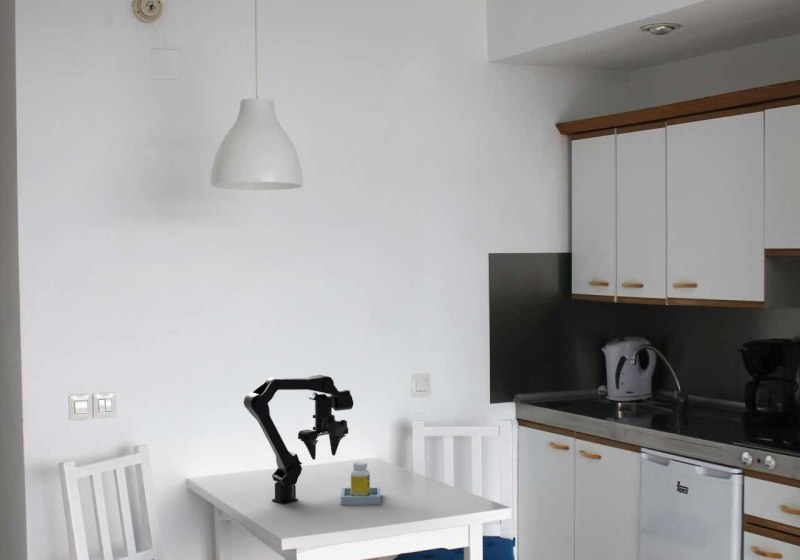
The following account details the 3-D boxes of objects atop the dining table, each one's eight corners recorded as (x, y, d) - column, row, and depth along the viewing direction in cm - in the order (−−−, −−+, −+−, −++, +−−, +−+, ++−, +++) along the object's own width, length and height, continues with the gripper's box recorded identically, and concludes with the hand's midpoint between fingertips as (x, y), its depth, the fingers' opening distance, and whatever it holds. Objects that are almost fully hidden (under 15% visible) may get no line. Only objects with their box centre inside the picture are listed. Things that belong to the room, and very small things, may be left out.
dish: (380, 504, 302) (380, 496, 302) (341, 504, 301) (340, 497, 301) (380, 494, 315) (379, 487, 315) (342, 495, 314) (342, 487, 314)
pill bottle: (367, 500, 304) (367, 465, 304) (348, 499, 306) (348, 464, 306) (371, 495, 311) (371, 461, 311) (353, 495, 312) (353, 461, 312)
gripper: (318, 417, 302) (319, 465, 302) (359, 411, 316) (359, 456, 316) (296, 414, 310) (297, 460, 310) (337, 408, 323) (337, 452, 323)
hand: (323, 457), depth 314 cm, fingers open, 9 cm apart
